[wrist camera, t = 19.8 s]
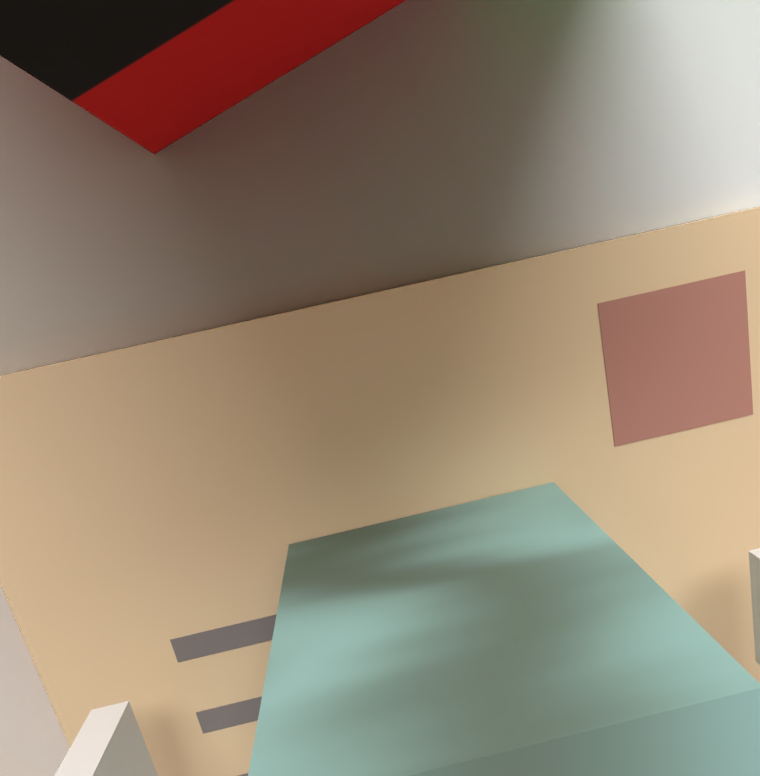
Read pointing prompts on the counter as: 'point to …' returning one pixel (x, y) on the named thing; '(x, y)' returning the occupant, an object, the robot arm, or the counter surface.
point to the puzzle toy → (170, 53)
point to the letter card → (374, 461)
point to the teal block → (494, 655)
